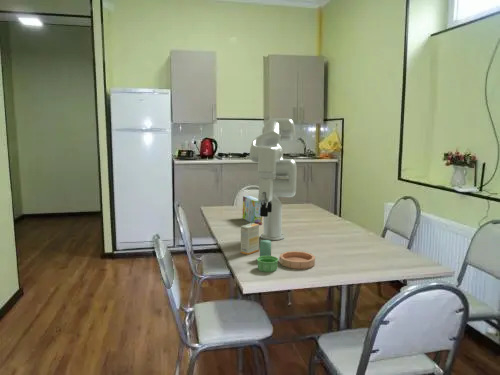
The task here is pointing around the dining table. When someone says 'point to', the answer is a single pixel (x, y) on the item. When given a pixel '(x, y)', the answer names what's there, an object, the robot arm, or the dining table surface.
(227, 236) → the dining table surface
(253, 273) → the dining table surface
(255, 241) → the supplement box
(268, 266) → the ramekin
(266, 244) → the teal tapered rounded piece
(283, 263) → the round dish
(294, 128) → the robot arm
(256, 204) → the snack box
